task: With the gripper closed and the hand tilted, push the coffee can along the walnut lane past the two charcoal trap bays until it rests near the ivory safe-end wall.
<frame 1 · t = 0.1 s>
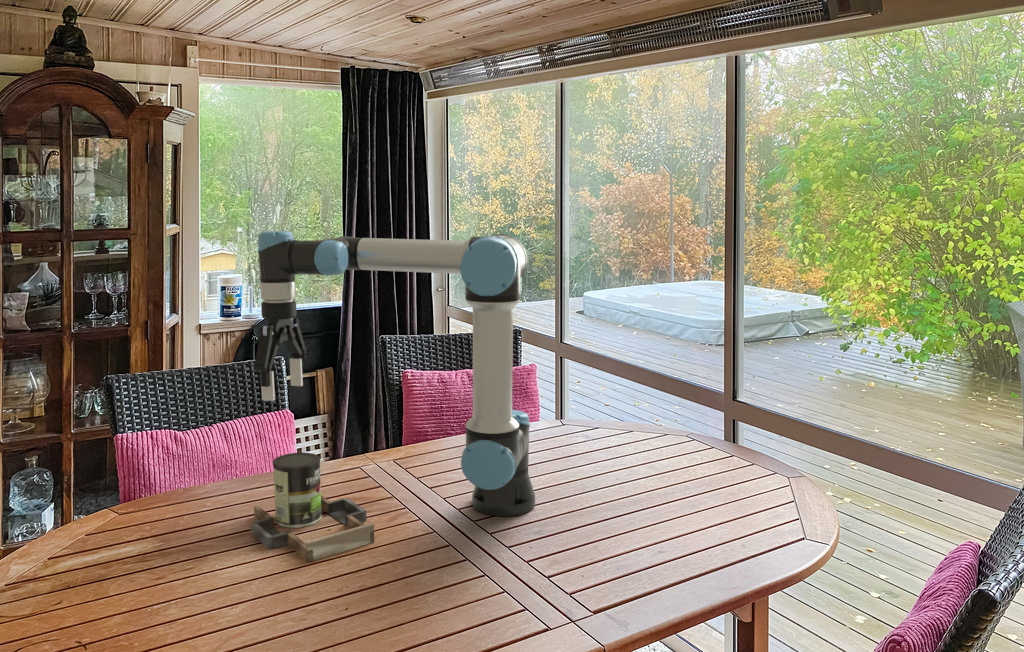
hand: (283, 392, 178), 28 cm above the table, tool pointing down, fingers open, 13 cm apart
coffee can: (298, 519, 177), resting in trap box
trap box: (310, 527, 172), on the table
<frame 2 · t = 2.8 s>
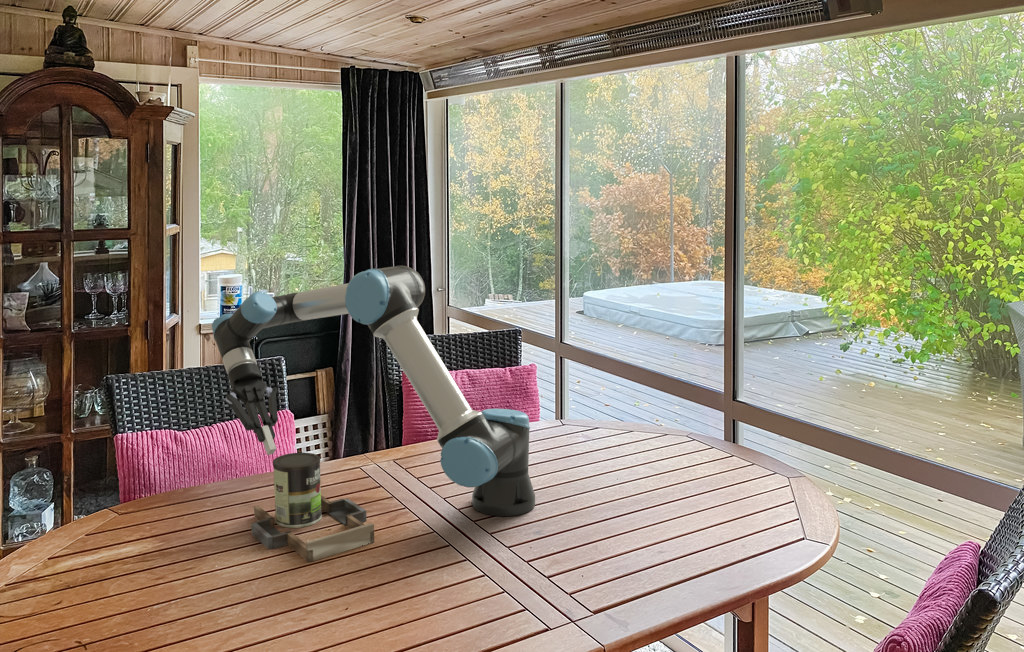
hand: (271, 451, 185), 12 cm above the table, tool tilted 45°, fingers closed
nothing on the table moved.
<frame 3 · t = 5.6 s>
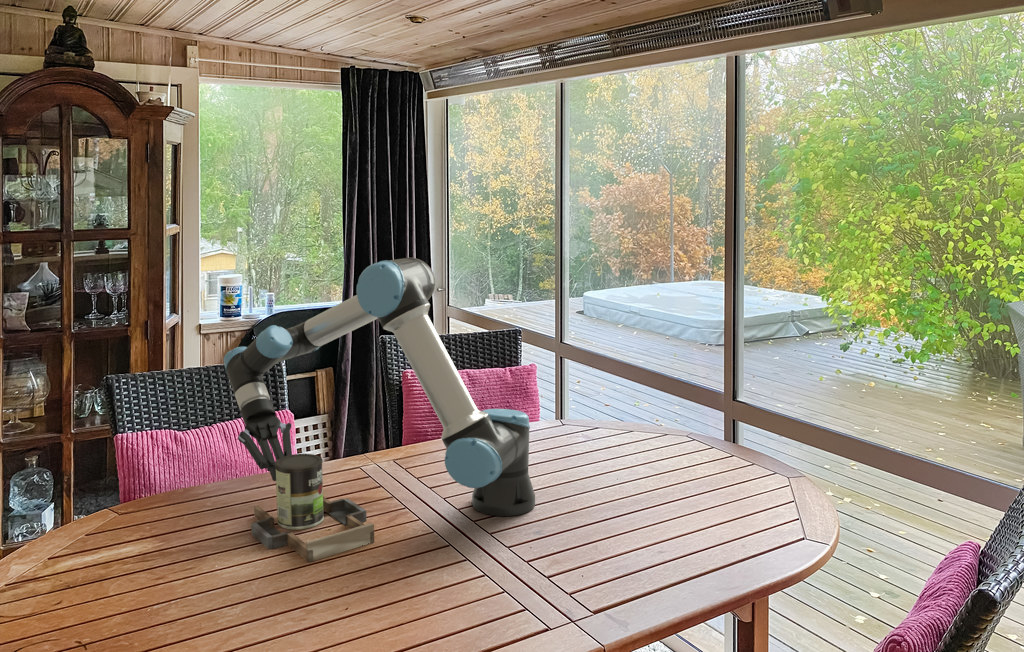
hand: (286, 491, 179), 5 cm above the table, tool tilted 45°, fingers closed
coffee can: (300, 521, 176), resting in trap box, touching gripper
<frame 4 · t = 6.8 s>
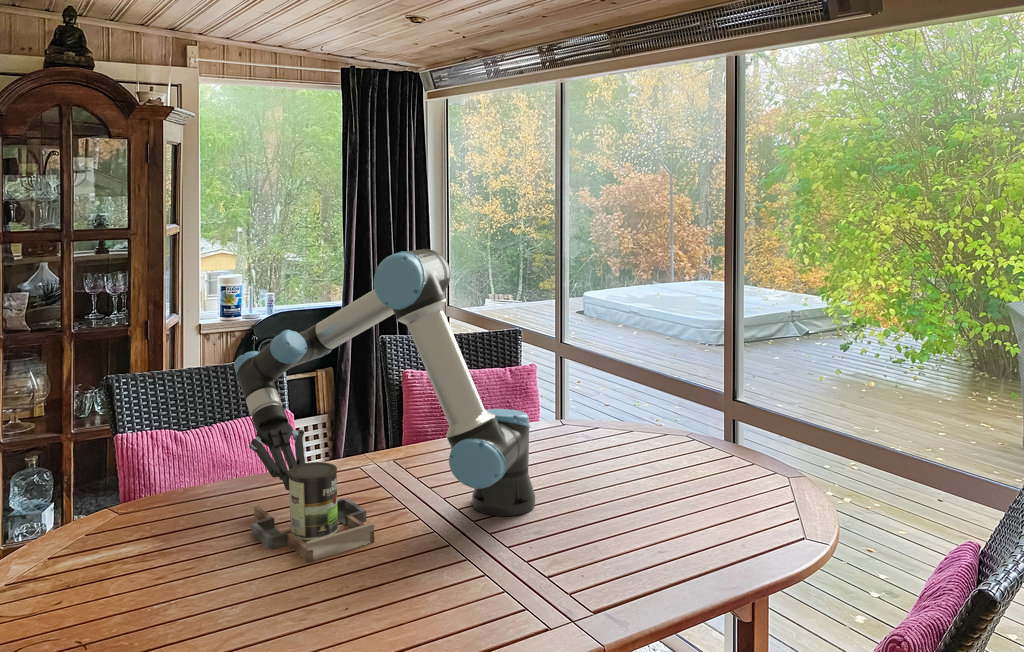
hand: (299, 500, 174), 5 cm above the table, tool tilted 45°, fingers closed
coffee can: (314, 531, 171), resting in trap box, touching gripper
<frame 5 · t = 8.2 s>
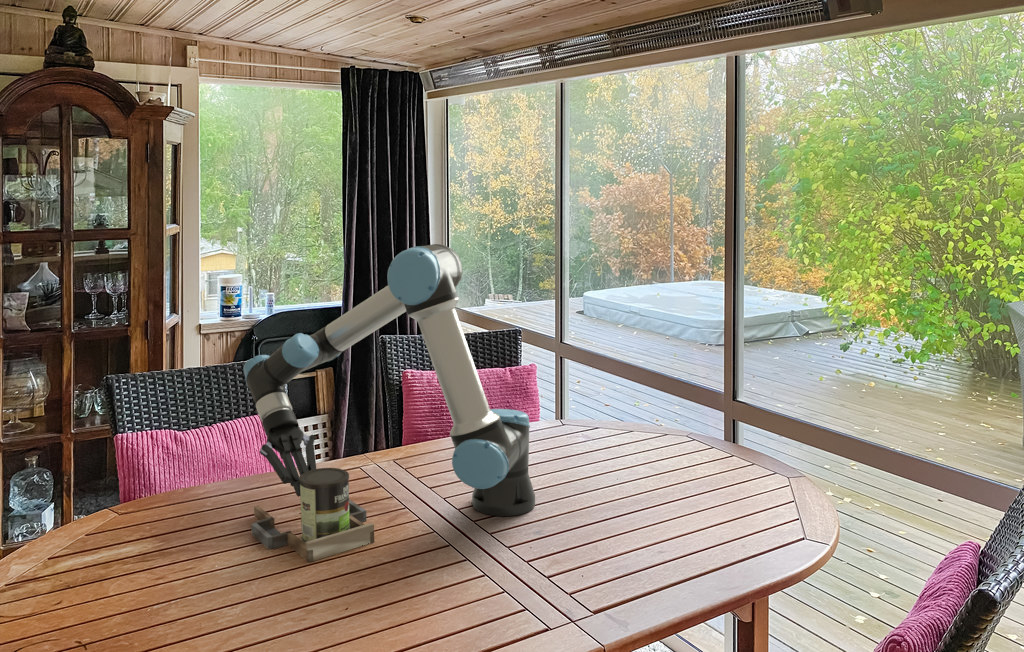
hand: (311, 507, 171), 5 cm above the table, tool tilted 45°, fingers closed
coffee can: (326, 538, 167), resting in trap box, touching gripper
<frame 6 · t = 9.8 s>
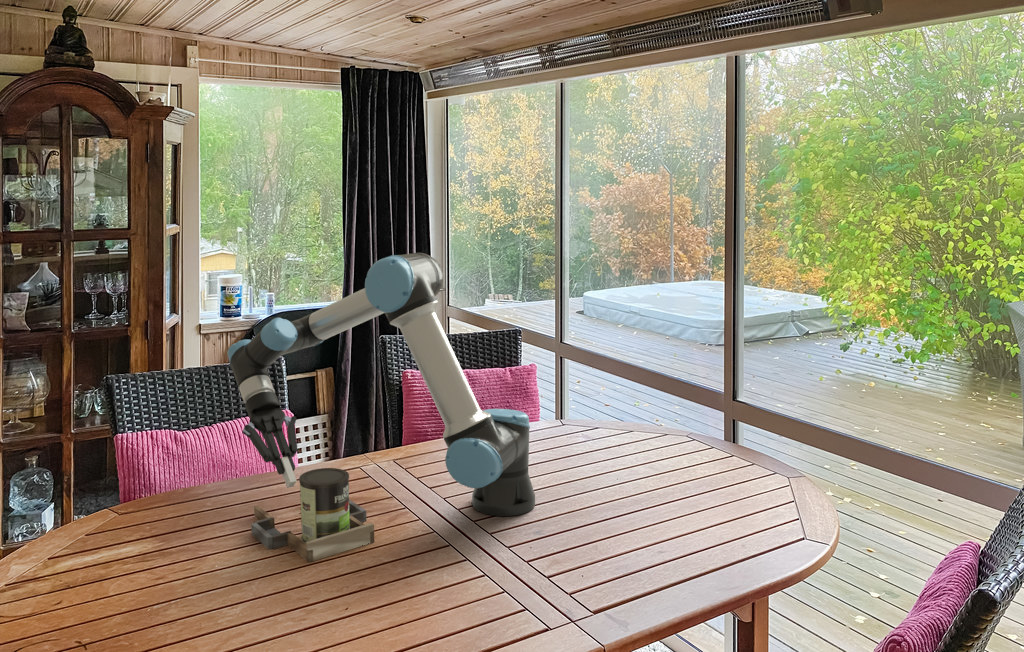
hand: (292, 484, 178), 7 cm above the table, tool tilted 45°, fingers closed
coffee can: (326, 539, 167), resting in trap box
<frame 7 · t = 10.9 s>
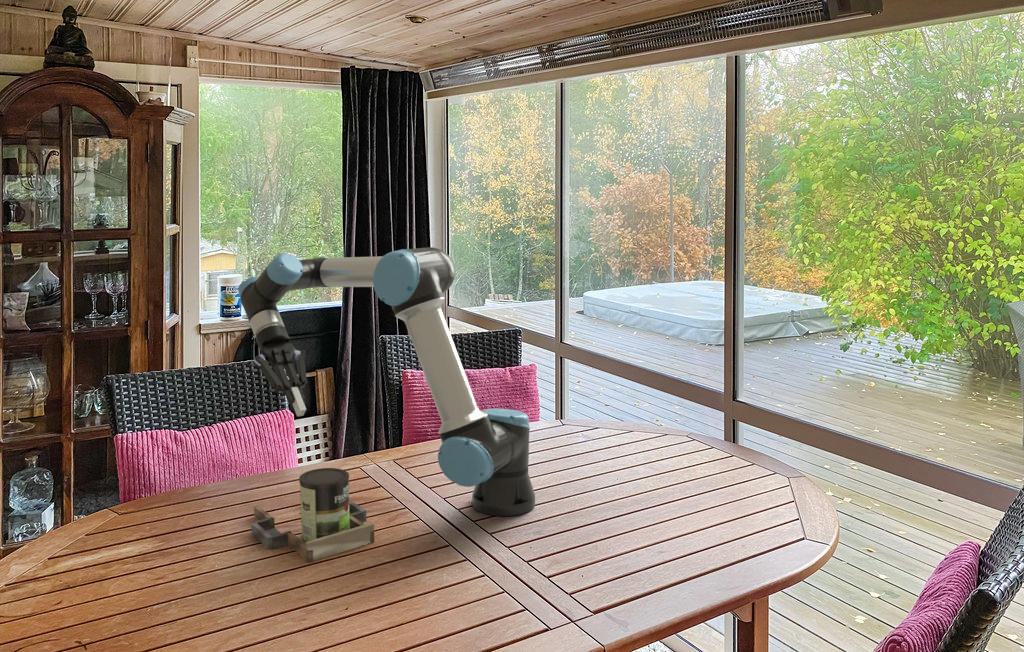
hand: (301, 413, 183), 22 cm above the table, tool tilted 45°, fingers closed
nothing on the table moved.
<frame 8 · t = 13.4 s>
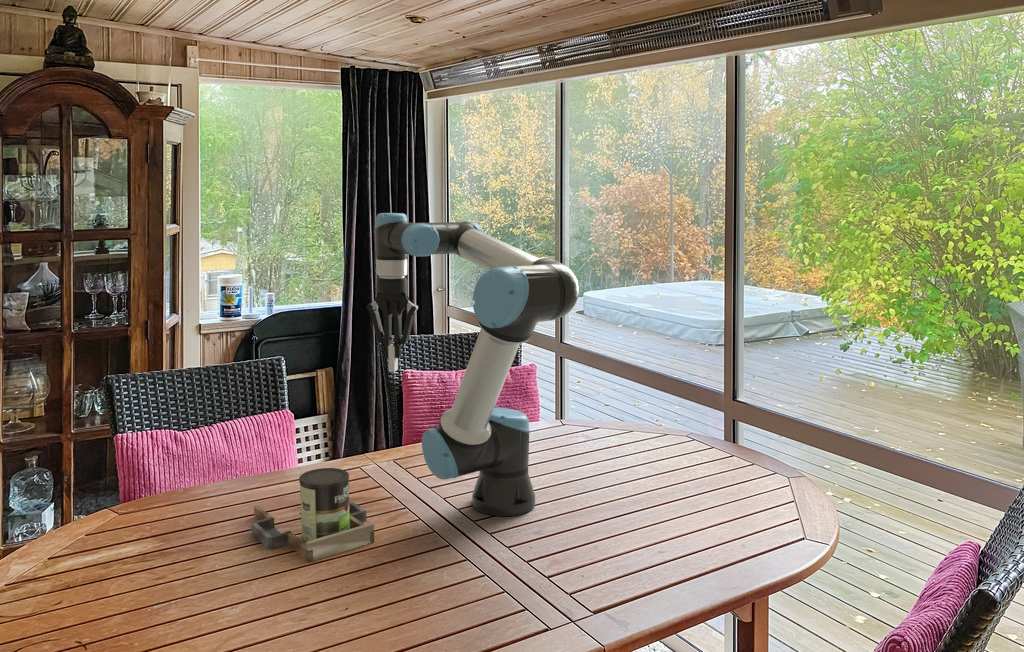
hand: (393, 370, 195), 29 cm above the table, tool pointing down, fingers closed
nothing on the table moved.
at the end: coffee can inside the target area (1.3 cm from its centre), resting in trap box; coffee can tilted 0° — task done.
